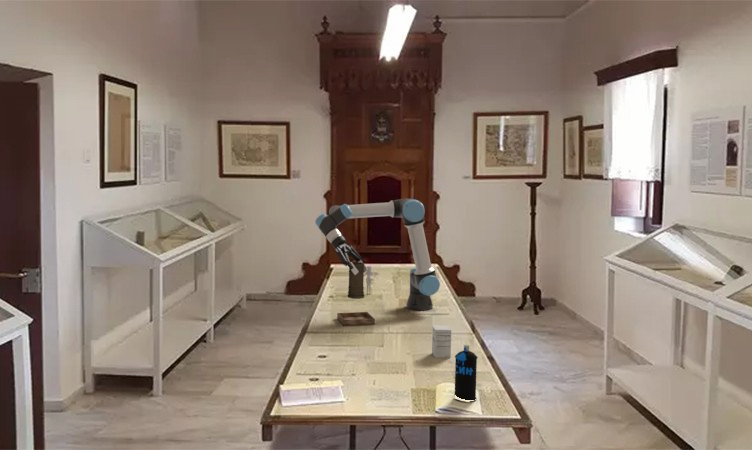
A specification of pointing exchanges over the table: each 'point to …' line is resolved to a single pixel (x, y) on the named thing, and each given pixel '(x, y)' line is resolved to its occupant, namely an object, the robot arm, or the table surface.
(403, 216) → the robot arm
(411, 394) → the table surface
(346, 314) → the walnut tray
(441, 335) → the supplement box
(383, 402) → the table surface
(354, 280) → the container
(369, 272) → the human figurine
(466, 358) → the aerosol can
